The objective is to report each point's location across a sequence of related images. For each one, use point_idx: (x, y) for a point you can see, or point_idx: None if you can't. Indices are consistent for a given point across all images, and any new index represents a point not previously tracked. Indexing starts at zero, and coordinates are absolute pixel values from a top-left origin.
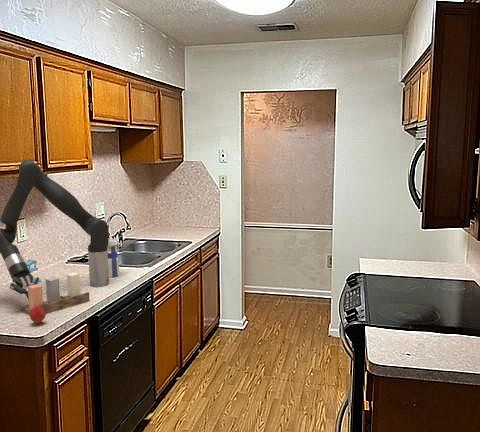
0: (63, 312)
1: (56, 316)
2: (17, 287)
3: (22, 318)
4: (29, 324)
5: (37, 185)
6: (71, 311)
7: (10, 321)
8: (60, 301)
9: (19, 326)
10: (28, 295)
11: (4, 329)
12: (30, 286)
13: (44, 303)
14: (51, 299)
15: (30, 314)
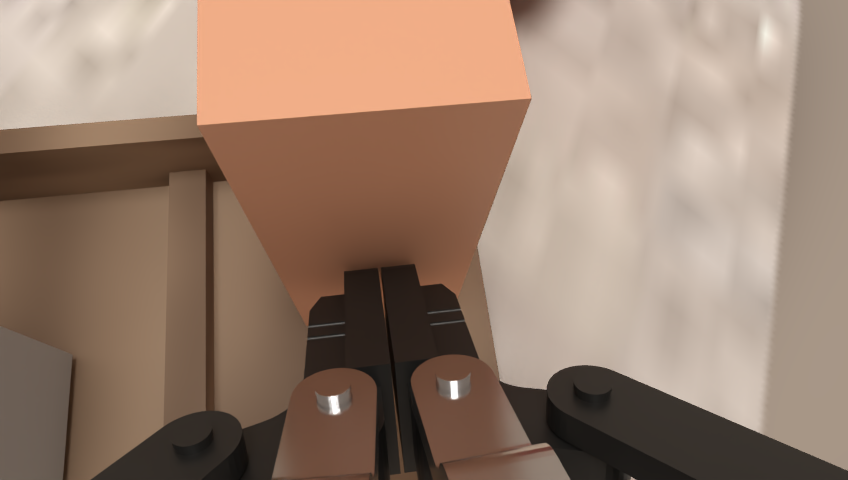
0: (125, 86)
1: None
2: (784, 465)
3: (574, 219)
4: (559, 11)
5: None
6: (43, 56)
7: (713, 219)
8: (15, 139)
9: (655, 26)
10: (484, 224)
11: (796, 48)
12: (466, 37)
13: (182, 366)
14: (37, 345)
15: None
